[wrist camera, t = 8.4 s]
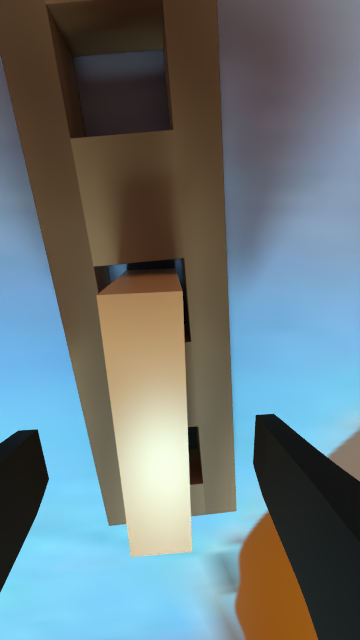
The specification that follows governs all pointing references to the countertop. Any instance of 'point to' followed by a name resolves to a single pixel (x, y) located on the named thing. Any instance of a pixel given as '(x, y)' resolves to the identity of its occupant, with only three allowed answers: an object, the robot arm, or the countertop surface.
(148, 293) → the tan rectangular block
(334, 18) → the countertop surface
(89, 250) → the wooden board with holes
